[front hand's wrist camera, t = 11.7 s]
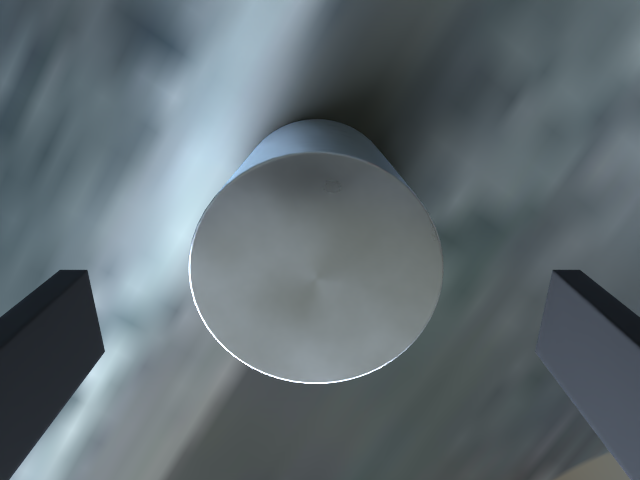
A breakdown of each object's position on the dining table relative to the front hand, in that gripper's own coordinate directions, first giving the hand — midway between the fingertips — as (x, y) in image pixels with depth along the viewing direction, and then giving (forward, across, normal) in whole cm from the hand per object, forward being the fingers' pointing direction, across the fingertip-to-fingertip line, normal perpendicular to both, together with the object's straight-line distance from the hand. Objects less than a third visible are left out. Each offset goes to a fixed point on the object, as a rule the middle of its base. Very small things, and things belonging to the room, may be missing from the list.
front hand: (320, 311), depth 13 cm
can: (+14, 0, -1) cm, 14 cm away
